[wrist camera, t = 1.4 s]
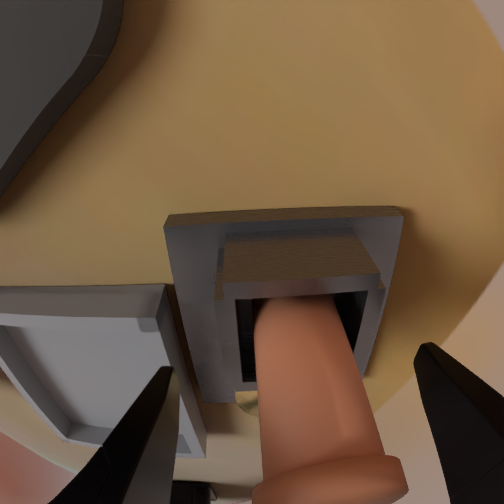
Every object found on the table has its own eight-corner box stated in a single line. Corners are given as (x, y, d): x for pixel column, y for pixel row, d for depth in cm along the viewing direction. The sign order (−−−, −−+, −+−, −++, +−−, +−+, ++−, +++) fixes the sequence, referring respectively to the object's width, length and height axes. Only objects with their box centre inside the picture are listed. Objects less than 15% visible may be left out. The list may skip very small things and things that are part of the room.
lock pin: (327, 318, 14) (382, 512, 6) (245, 324, 14) (254, 532, 6) (336, 246, 12) (433, 470, 4) (240, 251, 12) (249, 506, 4)
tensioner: (354, 377, 18) (371, 432, 14) (204, 389, 18) (201, 447, 14) (394, 205, 12) (443, 257, 9) (168, 215, 12) (142, 274, 9)
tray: (206, 432, 21) (205, 458, 19) (69, 419, 20) (62, 441, 19) (165, 283, 14) (155, 317, 12) (-16, 286, 14) (-35, 310, 12)
